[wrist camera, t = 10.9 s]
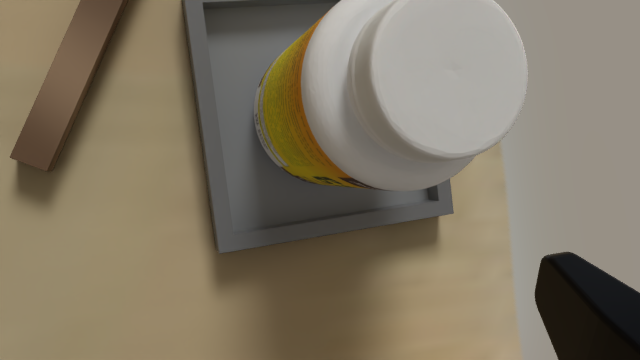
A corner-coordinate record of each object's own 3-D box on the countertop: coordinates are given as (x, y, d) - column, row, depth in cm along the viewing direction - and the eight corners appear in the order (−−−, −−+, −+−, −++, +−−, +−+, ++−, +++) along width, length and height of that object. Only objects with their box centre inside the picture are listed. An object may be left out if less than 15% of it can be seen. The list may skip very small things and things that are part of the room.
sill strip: (51, 171, 20) (46, 171, 19) (16, 158, 19) (9, 157, 18) (184, -127, 21) (185, -142, 20) (153, -144, 20) (153, -160, 19)
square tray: (439, 211, 24) (453, 213, 23) (215, 248, 21) (219, 253, 20) (413, -14, 23) (427, -24, 22) (181, -5, 21) (182, -15, 20)
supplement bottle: (270, 200, 21) (367, 227, 12) (234, 59, 21) (305, -39, 11) (399, 165, 23) (580, 162, 13) (368, 32, 23) (532, -74, 13)
